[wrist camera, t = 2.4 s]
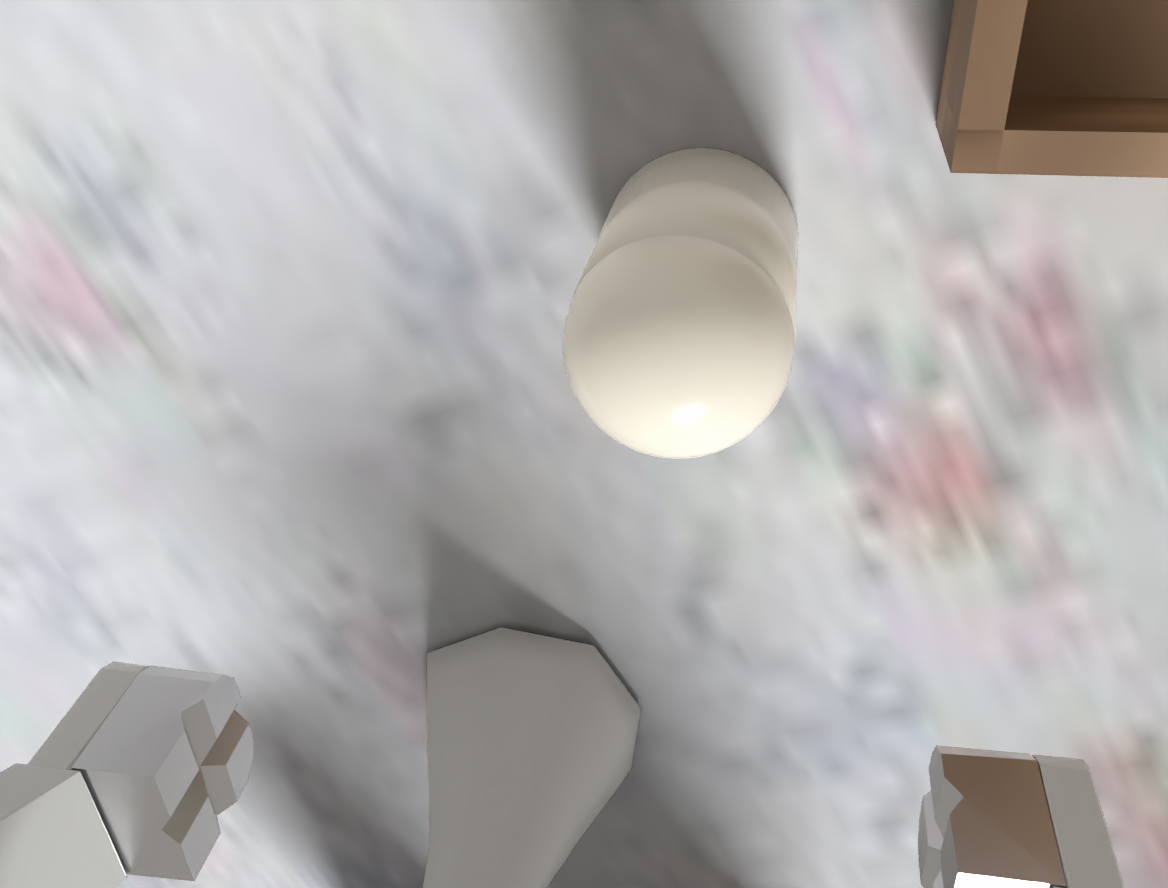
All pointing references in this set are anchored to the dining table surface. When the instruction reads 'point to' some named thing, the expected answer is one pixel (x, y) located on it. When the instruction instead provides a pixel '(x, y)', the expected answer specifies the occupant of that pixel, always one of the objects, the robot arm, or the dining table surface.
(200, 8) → the dining table surface
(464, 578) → the dining table surface
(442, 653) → the flask
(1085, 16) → the caddy
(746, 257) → the ceramic shaker
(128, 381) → the dining table surface
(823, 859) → the dining table surface
